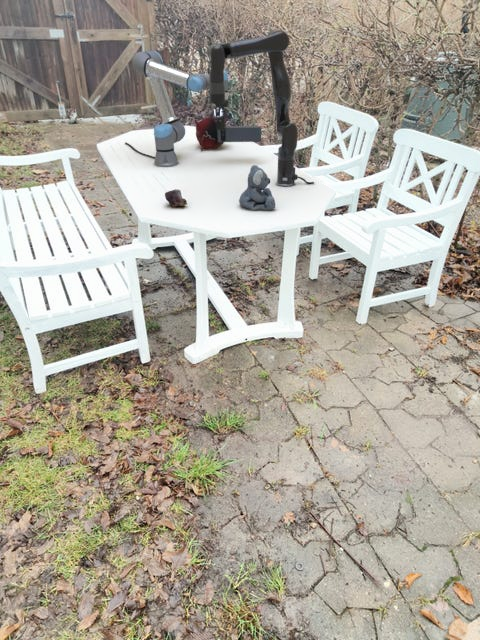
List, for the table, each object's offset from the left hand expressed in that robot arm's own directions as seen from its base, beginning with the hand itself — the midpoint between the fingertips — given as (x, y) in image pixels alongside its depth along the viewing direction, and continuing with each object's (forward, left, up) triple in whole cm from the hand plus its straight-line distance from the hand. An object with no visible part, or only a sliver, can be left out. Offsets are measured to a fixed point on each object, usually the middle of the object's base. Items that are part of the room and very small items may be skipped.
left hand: (223, 139), depth 286 cm
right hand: (+38, -42, +19) cm, 60 cm away
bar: (+8, +7, -1) cm, 10 cm away
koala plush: (+67, -45, -15) cm, 83 cm away
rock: (+36, -73, -15) cm, 82 cm away
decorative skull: (-36, +24, -15) cm, 46 cm away
